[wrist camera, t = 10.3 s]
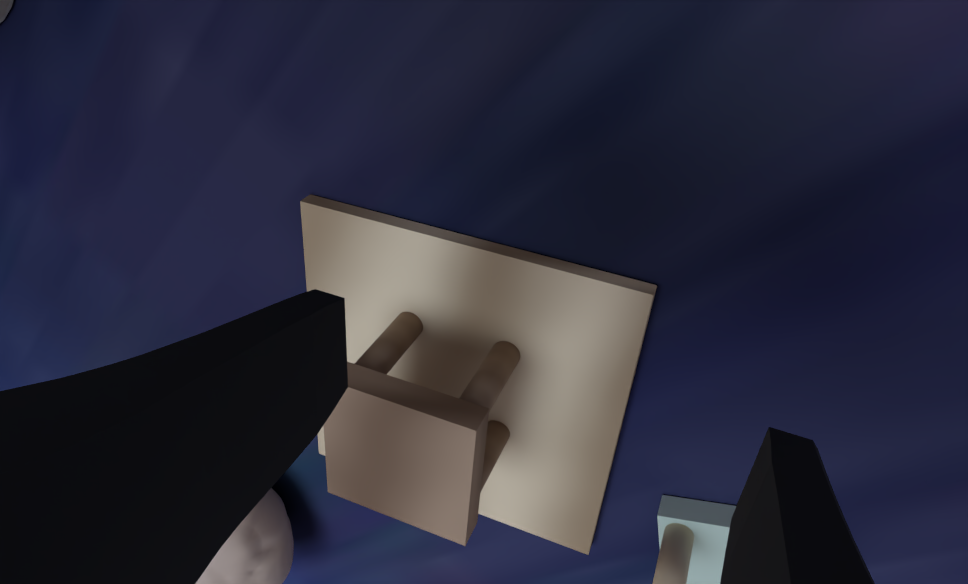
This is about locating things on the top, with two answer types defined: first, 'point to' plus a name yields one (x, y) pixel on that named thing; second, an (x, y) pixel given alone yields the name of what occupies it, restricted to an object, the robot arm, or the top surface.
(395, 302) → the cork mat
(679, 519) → the upturned stool
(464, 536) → the stool
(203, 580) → the garlic bulb
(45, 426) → the robot arm
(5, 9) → the thermos bottle
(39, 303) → the top surface
